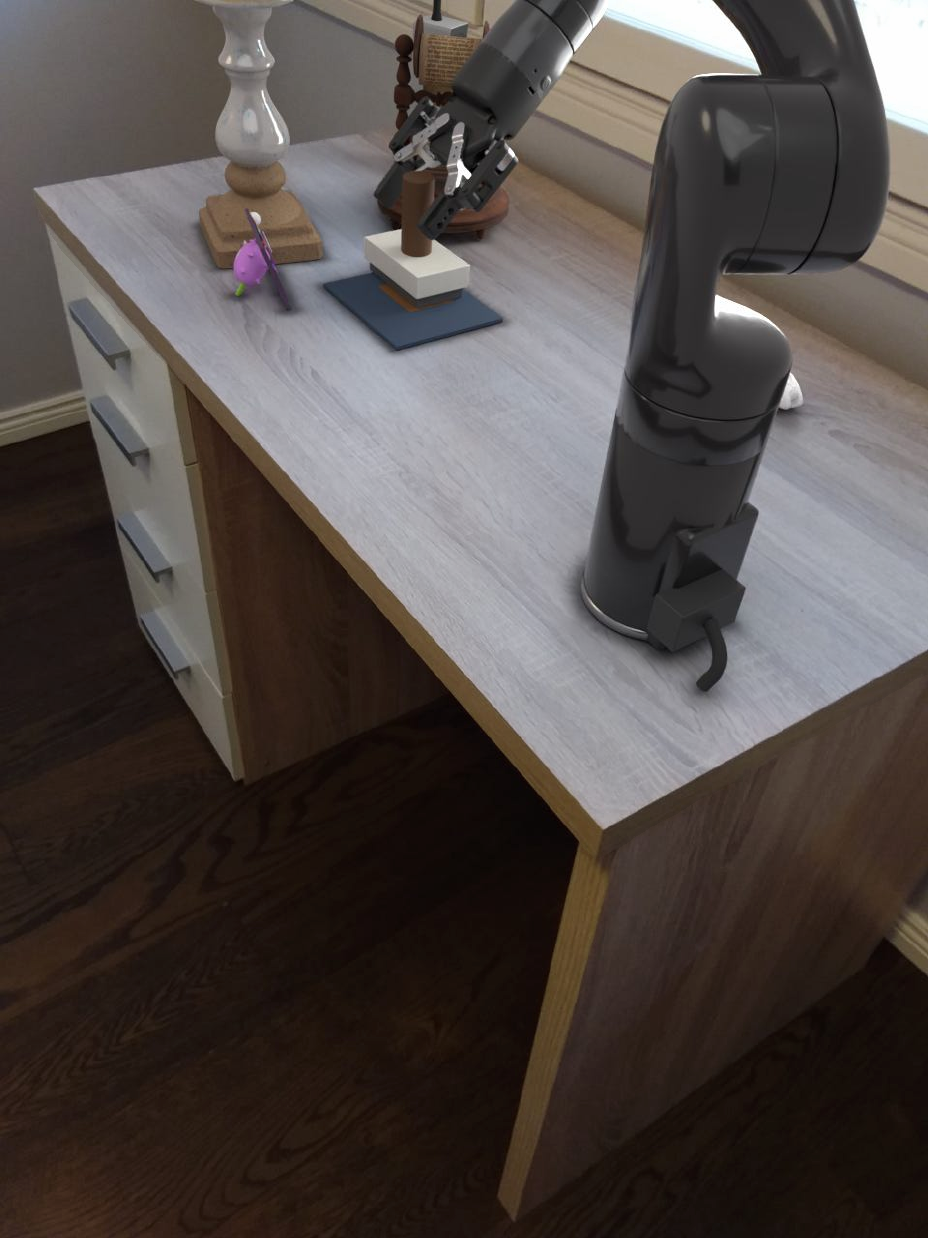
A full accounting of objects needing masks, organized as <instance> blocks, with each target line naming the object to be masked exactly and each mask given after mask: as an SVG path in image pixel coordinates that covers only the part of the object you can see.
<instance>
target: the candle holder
mask: <svg viewBox="0 0 928 1238" xmlns="http://www.w3.org/2000/svg"><path fill="white" fill-rule="evenodd" d="M193 1H194V2H196V3H200V4H202V5H207V6H210V7H212V11H213V13H214V16H216V18H217V19H218V20H219V22H220V23H221V24H222V26H223V27H222V28H223V30H224V35H225V42H224V45H223V46H224V47H223V48H222V50H221V53H220V54H219V55H218V60H217V61H218V64H219V66H221V67H222V68H223V69H224V73H225V75H226V76H227V78H228V80H229V83H230V91H229V92H230V93H229V95H228V98H227V100H226V103H225V104H224V105H225V106H224V107H223V109H222V110H221V113H220V114H219V117H218V119H217V122H216V124H215V128H214V141H215V145H216V148H217V149H218V151H219V152H220V154H221V155H223V157H224V158H226V159H227V160H228V161H230V162H229V163H228V164H227V166H226V167H225V169H224V180H225V183H226V185H228V187H229V188H230V189H229V190H228V191H227V192H225V193H224V194H217V195H216V194H215V195H210V196H207V197H206V198H205V206H204V207H201V208H199V209H198V217H199V227H200V230H201V234H202V235H203V237H204V240H205V242H206V245H207V248H208V249H209V252H210V254H211V257H212V258H213V261H214V263H215V264H216V266H217V268H219V269H234V261H235V258H236V255H237V253H238V252H239V250H240V249H241V248H242V247H243V245H244V240H245V241H246V243H250V242H251V241H249V240H251V239H252V240H254V239H255V240H256V238H255V236H254V233H253V230H252V228H251V225H250V223H249V220H248V217H247V215H246V212H245V209H246V208H248V209H249V211H250V212H256V213H258V214H259V215H260V217H261V222H260V224H259V225H258V227H259V228H258V229H259V230H260V232H261V234H262V236H263V238H264V239H263V238H262V236H261V238H262V240H263V242H264V244H265V246H266V249H267V250H268V253H269V256H270V258H271V260H272V262H273V259H274V261H275V265H277V264H289V263H290V264H291V263H298V262H309V261H314V260H315V261H316V260H321V259H323V257H324V255H323V241H322V239H321V236H320V234H319V232H318V231H317V229H316V227H315V226H314V224H313V223H312V221H311V219H310V217H309V215H308V213H307V211H306V210H305V208H304V206H303V205H302V203H301V201H300V200H299V198H298V197H297V196H296V194H294V193H293V191H291V190H290V189H282V188H283V187H284V186H285V184H286V181H287V174H286V173H287V172H286V170H285V169H284V167H283V165H282V164H281V163H280V162H279V161H280V160H281V159H283V158H284V156H285V155H286V154H287V152H288V151H289V149H290V145H291V134H290V131H289V128H288V126H287V123H286V121H285V119H284V118H283V116H282V114H281V113H280V112H279V110H278V109H277V107H276V105H275V104H274V102H273V101H272V98H271V96H270V94H269V92H268V89H267V82H268V78H269V76H270V74H271V69H272V68H273V67H274V66H275V63H276V60H275V58H274V56H273V55H272V53H271V52H270V50H269V48H268V47H267V44H266V41H265V28H266V25H267V23H268V22H269V20H270V18H271V17H272V14H273V8H276V7H282V6H285V5H288V4H291V3H292V2H294V1H295V0H193ZM262 231H263V232H264V234H263V232H262ZM264 235H265V236H266V239H267V241H268V243H269V245H270V248H271V250H272V252H271V250H270V251H269V249H270V248H269V249H268V247H269V245H268V243H267V241H266V239H265V236H264ZM264 240H265V241H264ZM265 242H266V243H265ZM266 244H267V245H266ZM267 246H268V247H267ZM270 252H271V253H270ZM271 254H272V255H271ZM272 256H273V258H272Z"/></svg>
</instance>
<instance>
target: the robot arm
mask: <svg viewBox="0 0 928 1238" xmlns="http://www.w3.org/2000/svg"><path fill="white" fill-rule="evenodd" d="M711 2H712V3H713V4H714V5H715V6H716V7H717V8H718V9H719V11H721V13H722V14H723V15H724V16H725V17H726V19H728V21H729V22H730V24H731V25H732V26H733V28H735V30H736V31H737V32H738V33H739V34H740V36H741V38H742V39H743V40H744V42H745V44H746V46H748V49H749V51H750V52H751V54H752V57H753V58H754V61H755V63H756V66H757V68H758V71H759V73H760V74H748V73H746V74H745V73H742V74H741V73H707V74H699V75H696V76H694V77H691V78H690V79H687V81H686V82H684V83H683V84H682V85H681V86H680V87H679V89H678V90H677V91H676V92H675V94H674V96H673V98H671V99H672V100H671V101H670V103H669V105H668V107H667V110H666V113H665V115H664V117H663V121H662V123H661V125H660V130H659V134H658V138H657V143H656V146H655V152H654V158H653V164H652V170H651V176H650V184H649V192H648V199H647V207H646V214H645V223H644V231H643V237H642V245H641V250H640V251H641V252H640V259H639V264H638V270H637V275H636V281H635V286H634V294H633V300H632V307H631V308H632V309H631V318H630V327H629V328H630V330H629V338H628V339H629V340H628V345H627V350H626V351H627V352H626V356H625V360H624V361H625V362H624V367H623V371H622V375H621V382H620V387H619V392H618V396H617V403H616V406H615V407H616V408H615V411H614V417H613V420H612V421H613V422H612V427H611V432H610V438H609V442H608V446H607V452H606V458H605V462H604V469H603V473H602V478H601V483H600V488H599V494H598V498H597V503H596V509H595V515H594V519H593V525H592V530H591V534H590V540H589V546H588V551H587V557H586V561H585V565H584V568H583V570H582V574H581V579H580V594H581V597H582V600H583V603H584V604H585V606H586V607H587V609H588V610H589V611H590V613H591V614H592V615H593V616H594V617H595V618H596V619H597V620H598V621H600V622H601V623H602V624H604V625H605V626H606V627H608V628H610V629H611V630H613V631H615V632H618V633H619V634H622V635H625V636H628V637H631V638H634V639H638V640H642V641H646V642H647V643H649V644H650V645H651V646H652V647H653V648H654V649H656V650H657V651H661V650H663V649H665V648H667V649H668V650H669V651H671V652H672V653H675V652H676V651H679V650H681V649H682V648H684V647H686V646H689V645H690V644H693V643H694V642H697V641H699V640H701V639H702V638H705V637H706V638H707V640H708V643H709V646H710V649H711V658H712V659H711V664H710V667H709V668H708V669H707V670H706V671H705V672H704V673H703V674H701V676H700V677H699V678H698V679H697V681H696V682H695V686H696V688H697V689H698V690H700V691H701V692H705V693H707V692H709V691H710V690H711V689H712V688H713V687H714V686H715V685H716V684H717V683H718V682H719V681H720V680H721V679H722V677H723V675H724V673H725V671H726V669H727V668H726V667H727V665H728V651H727V649H728V648H727V644H726V641H725V639H724V636H723V633H722V630H721V629H723V628H725V627H727V626H729V625H731V624H734V623H735V621H736V618H737V616H738V612H739V610H740V607H741V604H742V601H743V598H744V595H745V592H746V589H747V587H746V586H744V584H743V583H741V582H740V581H738V578H739V574H740V571H741V568H742V565H743V563H744V559H745V557H746V554H747V551H748V548H749V544H750V542H751V539H752V535H753V533H754V530H755V527H756V524H757V521H758V518H759V515H760V513H759V508H758V507H756V506H755V505H753V504H752V503H751V502H749V501H750V498H751V495H752V491H753V488H754V485H755V482H756V478H757V475H758V472H759V469H760V466H761V462H762V460H763V457H764V454H765V450H766V448H767V444H768V442H769V439H770V435H771V432H772V430H773V426H774V424H775V420H776V417H777V414H778V412H779V411H778V410H779V409H780V408H779V405H780V402H781V399H782V396H783V394H784V391H785V387H786V384H787V381H788V378H789V375H790V373H791V371H792V366H793V350H792V349H793V348H792V346H791V344H790V341H789V340H788V337H787V336H786V335H785V333H784V332H783V331H782V330H781V329H780V328H779V327H778V326H777V325H776V324H775V323H774V322H772V321H771V320H770V319H768V318H767V317H766V316H763V314H761V313H759V312H757V311H755V310H753V309H751V308H749V307H747V306H745V305H742V304H739V303H737V302H735V301H733V300H729V299H727V298H726V297H723V296H720V295H719V294H717V292H718V286H719V282H720V281H721V277H722V276H723V275H729V276H730V275H733V276H734V275H737V276H740V275H741V276H742V275H743V276H744V275H748V276H750V275H751V276H752V275H753V276H755V275H756V276H759V275H760V276H761V275H762V276H768V275H769V276H782V275H783V276H784V275H786V276H787V275H788V276H789V275H790V276H791V275H797V276H798V275H819V274H827V273H828V274H829V273H833V272H838V271H842V270H844V269H846V268H849V267H851V266H852V265H854V264H856V262H858V261H859V260H861V259H862V258H863V257H864V256H865V254H866V253H867V252H868V251H869V250H870V249H871V247H872V245H873V243H875V240H876V238H877V236H878V234H879V232H880V229H881V227H882V224H883V221H884V217H885V214H886V211H887V210H886V209H887V204H888V199H889V194H890V193H889V192H890V183H891V142H890V133H889V128H888V120H887V114H886V109H885V103H884V100H883V99H884V98H883V95H882V92H881V88H880V85H879V80H878V77H877V74H876V70H875V66H874V63H873V59H872V56H871V53H870V49H869V46H868V42H867V39H866V35H865V32H864V29H863V26H862V23H861V19H860V16H859V13H858V9H857V6H856V3H855V0H711ZM609 4H610V0H514V1H513V2H512V4H511V5H510V6H509V7H508V8H507V9H506V10H505V11H504V12H503V13H502V14H501V15H500V16H499V18H498V19H497V20H496V21H495V22H494V23H493V25H492V26H491V28H489V32H488V33H487V34H486V36H485V37H484V38H483V37H482V38H483V40H482V41H481V43H480V44H479V45H478V46H477V48H476V49H475V51H474V52H473V53H472V55H471V56H470V57H469V59H468V60H467V61H466V63H465V64H464V65H463V67H462V68H461V69H460V71H459V72H458V73H457V75H456V76H455V78H454V79H453V80H452V84H451V87H452V90H453V96H452V99H451V100H450V101H449V102H448V103H447V104H446V105H444V106H443V107H441V108H439V107H437V106H436V105H435V104H434V103H433V102H432V101H431V99H430V98H429V97H428V96H425V97H423V98H422V99H421V100H420V102H419V103H418V104H417V106H416V107H415V109H414V110H413V111H412V113H411V112H410V114H408V118H407V120H406V121H405V122H404V124H403V125H402V126H401V128H400V129H399V130H398V129H397V131H396V132H397V133H396V132H395V134H396V135H395V134H394V135H395V136H394V135H393V137H392V139H391V140H390V141H389V143H388V148H389V150H390V151H391V153H392V154H393V160H394V162H393V164H392V165H391V167H390V168H389V169H388V171H387V172H386V173H385V175H384V176H383V177H382V178H381V180H380V181H379V182H378V184H377V186H376V188H375V190H374V191H373V196H374V198H375V199H376V201H377V200H378V201H379V202H380V203H381V204H382V205H383V206H385V207H386V208H388V209H389V208H391V207H392V206H393V205H394V204H395V202H396V201H397V200H398V198H399V197H400V196H401V194H402V187H403V175H404V174H405V173H407V172H410V171H422V170H424V169H426V168H428V167H430V168H435V167H437V166H439V165H440V164H442V165H444V166H447V171H448V177H447V181H446V185H445V189H444V193H445V195H443V194H441V193H440V194H439V195H438V196H437V198H436V199H435V200H434V202H433V203H432V204H431V206H430V207H429V208H428V210H427V211H426V212H425V214H424V215H423V216H422V218H421V219H420V220H419V221H418V223H417V228H418V229H419V230H420V231H421V232H422V233H423V234H424V235H425V236H426V237H427V238H428V239H430V240H435V239H437V237H439V236H440V235H441V234H442V233H444V232H443V231H444V229H445V227H447V225H448V224H449V223H450V221H451V220H452V219H453V217H454V216H455V215H456V213H457V212H458V211H459V210H464V209H466V208H472V209H473V210H474V211H475V212H478V211H480V210H482V209H483V207H484V206H485V205H486V203H487V202H488V201H489V200H490V198H491V197H492V196H493V194H494V193H495V192H496V191H497V189H498V188H499V187H501V186H502V184H503V183H504V182H505V180H507V178H508V176H509V175H510V174H511V173H512V171H513V170H514V169H515V167H516V166H517V165H518V163H519V157H517V155H516V154H515V152H514V151H513V149H512V148H511V147H510V146H509V145H508V144H507V142H506V141H512V140H513V139H515V138H516V137H517V135H518V134H519V132H520V131H521V130H522V129H523V127H524V126H525V125H526V123H527V122H528V121H529V119H530V118H531V117H532V116H533V114H534V113H535V111H536V110H537V109H538V108H539V106H540V105H541V103H543V101H544V100H545V98H547V96H548V95H549V93H550V91H552V90H553V88H554V86H555V85H556V84H557V82H558V81H559V80H560V78H561V77H562V75H563V73H564V72H565V69H566V68H567V66H568V64H569V63H570V62H571V60H572V59H573V57H574V55H576V53H577V51H578V50H579V49H580V48H581V46H582V45H583V43H585V41H586V40H587V38H588V37H589V35H591V33H592V32H593V31H594V30H595V28H596V27H597V25H598V24H599V23H600V21H601V20H602V19H603V17H604V16H605V14H606V12H607V10H608V8H609ZM410 134H411V135H412V136H413V138H412V142H411V143H410V144H409V145H407V146H404V145H403V143H404V142H405V141H406V139H407V138H408V137H409V135H410ZM429 141H430V148H429V147H428V146H427V145H426V143H428V142H429ZM416 155H419V156H420V158H418V159H417V160H415V161H414V160H413V158H414V157H415V156H416ZM483 180H484V182H485V185H484V187H483V188H482V189H481V191H480V192H479V193H478V194H477V193H476V192H475V190H476V189H477V188H478V186H479V185H480V184H481V182H482V181H483ZM459 185H460V187H459Z"/></svg>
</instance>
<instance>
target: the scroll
mask: <svg viewBox="0 0 928 1238" xmlns="http://www.w3.org/2000/svg"><path fill="white" fill-rule="evenodd" d="M423 17H424V16H423V14H419V15H418V16H417V18H416V19H417V21H416V26H415V34H414V43H413V40H412V37H411V36H410V35H409V34H406V33H403V34H400V35H399V36H397V37H396V39H395V41H394V49H395V52H396V53H397V54H398V56H397V57H396V58H395V59H396V61H397V62H399V64H398V67H397V71H396V75H395V77H396V81H397V84H396V85H395V86H394V89H393V102H394V104H395V109H397V110H398V112H397V115H396V119H395V127H396V129H397V131H396V132H395V133H394V135H393V137H394V136H395V135H396V133H397V132H398V130H399V129H400V128H401V126H402V125H403V124H404V122H405V121H406V120H407V118H408V117H409V114H408V111H409V110H411V104H413V102H414V101H415V102H417V103H419V102H420V100H421V99H422V98H423V97H425V96H428V97H429V98H430V99H431V101H432V102H433V103H434V104H435V105H436V106H437V107H439V108H441V107H443V106H444V105H446V104H447V103H448V102H449V101H450V100H451V99H452V96H453V90H452V87H451V84H452V80H453V79H454V78H455V76H456V75H457V73H458V72H459V71H460V69H461V68H462V67H463V65H464V64H465V63H466V61H467V60H468V59H469V57H470V56H471V55H472V53H473V52H474V51H475V49H476V48H477V46H478V45H479V44H480V43H481V41H482V40H483V38H484V37H485V36H486V34H487V33H488V32H489V30H490V23H489V22H488V20H485V22H484V26H483V32H482V38H474V37H467V38H466V37H456V36H446V35H436V34H426V33H424V22H423ZM412 51H413V70H414V75H415V76H416V78H419V85H423V90H419V91H417V92H414V90H413V89H412V87H411V84H410V82H411V76H412V73H411V70H410V66H409V63H410V62H411V63H412V57H410V55H412ZM412 138H413V136H412V135H411V134H410V135H409V137H408V138H407V139H406V141H405V142H404V143H403V145H404V146H407V145H409V144H410V143H411V142H412ZM426 145H427V146H428V147H429V148H430V141H429V142H428V143H426ZM418 158H420V156H419V155H416V156H415V157H414V158H413V160H414V161H415V160H417V159H418ZM422 171H423V172H428V173H430V174H432V175H433V176H434V177H435V187H434V200H435V199H436V198H437V196H438V195H439V194H440V193H441V194H443V195H445V193H444V189H445V185H446V181H447V177H448V171H447V166H444V165H442V164H440V165H439V166H437V167H435V168H430V167H428V168H426V169H424V170H422ZM484 185H485V182H484V180H483V181H482V182H481V184H480V185H479V186H478V188H477V189H476V190H475V192H476V193H477V194H478V193H479V192H480V191H481V189H482V188H483V187H484ZM459 187H460V185H459ZM376 206H377V208H378V209H379V211H380V212H381V214H383V215H384V216H385V217H387V218H388V219H389V222H390V227H391V229H392V231H394V230H399V227H400V226H401V225H402V194H401V196H400V197H399V198H398V200H397V201H396V202H395V204H394V205H393V206H392V207H391V208H389V209H388V208H386V207H385V206H383V205H382V204H381V203H380V202H379V201H378V200H377V199H376ZM509 210H510V196H509V194H508V193H507V191H506V190H505V189H504V188H503V187H502V186H500V187H499V188H498V189H497V191H496V192H495V193H494V194H493V196H492V197H491V198H490V200H489V201H488V202H487V203H486V205H485V206H484V207H483V209H482V210H480V211H478V212H475V211H474V210H473V209H472V208H466V209H464V210H459V211H458V212H457V213H456V215H455V216H454V217H453V219H452V220H451V221H450V223H449V224H448V225H447V227H445V229H444V231H443V232H442V233H447V234H449V233H450V234H451V233H453V234H455V233H469V232H475V235H476V239H478V240H480V241H482V240H483V239H484V238H485V235H486V231H487V229H489V228H491V227H494V226H496V225H498V224H499V223H502V221H504V220H505V219H506V217H507V216H508V215H509Z"/></svg>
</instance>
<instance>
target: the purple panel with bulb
mask: <svg viewBox="0 0 928 1238" xmlns="http://www.w3.org/2000/svg"><path fill="white" fill-rule="evenodd" d="M245 212H246V215H247V217H248V220H249V223H250V225H251V228H252V230H253V233H254V236H255V238H256V240H255V239H254V240H252V239H251V240H249V241H251V242H250V243H246V241H245V240H244V245H243V247H242V248H241V249H240V250H239V252H238V253H237V255H236V258H235V261H234V268H233V273H234V276H235V278H236V280H237V281H238V282H239V285H238V286H237V287H238V288H236V289H235V290H236V292H235V296H237V297H240V296H241V295H242V293H243V291H244V289H245V288H246V287H254V286H256V285H260V283H261V280H262V279H263V277H265V274H266V272H267V270H269V273H270V275H271V277H272V279H273V282H274V284H275V286H276V289H277V291H278V293H279V295H280V298H281V299H282V301H283V303H284V307H285V308H286V310H287V311H289V310H291V309H292V307H291V304H290V302H289V299H288V297H287V295H286V291H285V290H284V287H283V284H282V282H281V279H280V276H279V272H278V269H276V267H275V266H276V264H275V261H274V259H273V262H272V260H271V258H270V256H269V253H268V250H267V249H266V246H265V244H264V242H263V240H262V238H263V236H262V234H261V232H260V230H259V229H258V228H259V227H258V225H259V224H260V222H261V217H260V215H259V214H258V213H256V212H250V211H249V209H248V208H246V209H245ZM262 232H263V231H262ZM263 234H264V232H263ZM261 236H262V238H261ZM264 236H265V235H264ZM263 239H264V238H263ZM265 239H266V236H265ZM264 241H265V240H264ZM266 241H267V239H266ZM265 243H266V242H265ZM267 243H268V241H267ZM266 245H267V244H266ZM268 245H269V243H268ZM267 247H268V246H267ZM269 248H270V245H269V247H268V249H269ZM270 250H271V248H270V249H269V251H270ZM271 252H272V250H271ZM271 252H270V253H271ZM271 255H272V254H271ZM272 258H273V256H272Z"/></svg>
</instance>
